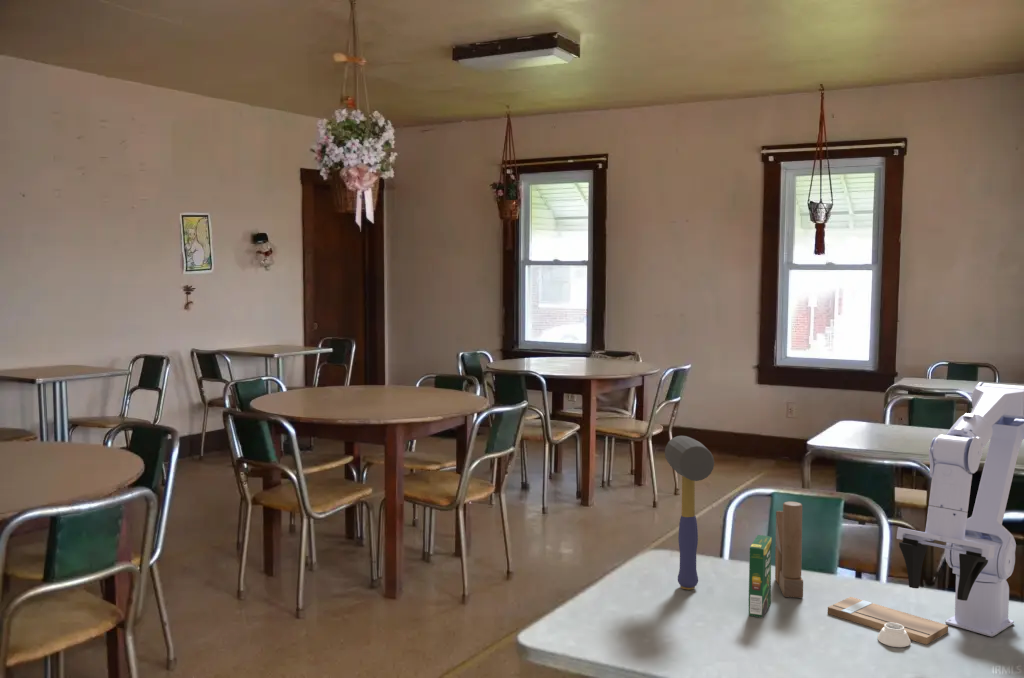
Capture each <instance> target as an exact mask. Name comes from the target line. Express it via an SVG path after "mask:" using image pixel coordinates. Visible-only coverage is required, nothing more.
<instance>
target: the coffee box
mask: <svg viewBox="0 0 1024 678" xmlns="http://www.w3.org/2000/svg"><path fill="white" fill-rule="evenodd" d="M772 541H773V540H772V536H769V535H763V534H762V535H761V534H757V535H756V536H755V538H754V540H753V541H752V543H751V545H750V546H749V558H748V559H749V564H748V571H749V573H748V616H749V617H750V616H751V617H755V618H761V619H762V618H764V616H765V615H766V613H767V610H768V609H769V607H770V605H771V603H772V595H771V593H772V585H771V584H772V544H773V543H772Z"/></svg>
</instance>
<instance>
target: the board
mask: <svg viewBox="0 0 1024 678" xmlns="http://www.w3.org/2000/svg"><path fill="white" fill-rule="evenodd" d="M827 614H829V615H832V616H835V617H838V618H840V619H844V620H847V621H850V622H854V623H857V624H859V625H862V626H865V627H869V628H873V629H875V630H879V631H881V629H882V628H883V627H884V625H885V623H898V624H901V625H902V626H904V630H905V631H906V632H907V634H908V636H909V639H910V641H915V642H917V643H920V644H923V645H928V644H930V643H932V642H933V641H936V640H937V639H939V638H940V637H942V636H944V635H946V634H947V633H949V624H946V623H941V622H938V621H935V620H932V619H931V620H930V619H928V618H926V617H925V618H924V617H921V616H917V615H915V614H911V613H908V612H904V611H900V610H898V609H894V608H890V607H888V606H884V605H880V604H877V603H873V602H870V601H868V600H864V599H859V598H856V597H853V596H849V597H847V598H845V599H842V600H840V601H838V602H836V603H834V604H831V605H829V606H827Z"/></svg>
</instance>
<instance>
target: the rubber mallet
mask: <svg viewBox="0 0 1024 678" xmlns="http://www.w3.org/2000/svg"><path fill="white" fill-rule="evenodd" d="M664 457H665V459H666V461H667V463H668V464H669V466H670V468H672V469H673V470H674V471H675V472H676V474H679V475H680V476H681V478H682V479H681V516H680V519H679V526H678V535H677V536H678V538H677V539H678V541H677V542H678V548H679V571H678V575H677V583H678V584H679V587H680V588H681V589H683V590H689V591H691V590H695V589H696V586H698V582H699V576H698V572H697V553H698V552H697V551H698V546H699V545H698V543H699V530H698V528H699V527H698V521H697V517H696V513H695V512H696V510H695V509H696V505H695V504H696V500H695V499H696V495H695V491H696V490H695V489H696V487H695V484H696V483H695V482H698V481H699V482H700V481H702V480H705V479H707V478H708V477H709V476H710V475H711V474H712V472H713V470H714V466H715V459H714V455H713V454H712V452H711V451H710V450H709V449H708V447H706V446H705V445H704V444H703V443H702V442H700V441H698V440H696V439H695V438H692V437H690V436H687V435H677V436H675V437H672V438H671V439H670V440H669V441H668V442H667V443H666V446H665V448H664Z"/></svg>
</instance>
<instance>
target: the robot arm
mask: <svg viewBox="0 0 1024 678" xmlns="http://www.w3.org/2000/svg"><path fill="white" fill-rule="evenodd" d="M971 395H972V396H971V405H972V410H971V412H970V413H969V412H968V413H967V412H965V413H964V414H963V415H961V416H960V417H958V419H957V420H956V421H955V422H954V423H953V425H952V426H951V427H950V429H948V431H947V432H946V434H942V433H941V434H939V435H937V436H935V437H933V438H932V440H931V442H930V445H929V449H928V461H929V471H928V473H929V478H931V484H930V491H929V500H928V507H927V516H926V523H925V529H924V530H925V531H920V530H914V529H910V528H904V527H900V526H898V527H897V531H896V539H897V540H902V541H900V542H899V543H898V546H899V549H900V551H901V553H902V556H903V559H904V563H905V566H906V570H907V579H908V587H909V588H912V589H919V588H920V586H921V585H920V584H921V578H922V577H921V575H922V567H923V563H924V559H925V556H926V553H927V550H928V546H931V547H938V548H942V549H944V558H945V562H946V564H947V565H948V567H949V568H950V569H952V574H955V594H954V595H955V599H954V615H953V616H951V617H949V618H947V619H946V620H945V621H944V624H945V625H948V626H952V627H955V628H956V627H957V628H960V629H963V630H967V631H969V632H970V631H971V632H972V633H973V632H974V633H976V634H977V633H978V634H981V635H984V636H986V637H987V636H988V637H994V636H996V635H998V634H1000V632H1002V631H1004V630H1006V629H1007V628H1009V627H1010V626H1012V625H1014V624H1015V621H1014V620H1013V619H1010V618H1009V609H1010V608H1009V605H1010V601H1009V600H1010V586H1009V583H1008V581H1007V579H1008V578H1009V577H1011V576H1012V574H1013V573H1014V569H1015V564H1016V548H1017V544H1016V540H1015V537H1014V535H1013V534H1012V533H1011V532H1010V531H1009V530H1008V529H1007V528H1006V527H1005V526H1004V525H1003V521H1004V516H1005V511H1006V508H1007V503H1008V501H1009V500H1008V499H1009V495H1010V490H1011V486H1012V482H1013V477H1014V473H1015V469H1016V465H1017V460H1018V456H1019V452H1020V449H1021V446H1022V444H1023V443H1022V442H1023V440H1024V385H1018V384H1004V383H991V382H984V381H979V382H978V383H977V384H976V385H975V386H974V388H973V390H972V394H971ZM988 443H989V445H988V448H987V452H986V456H985V460H984V464H983V469H982V472H981V477H980V481H979V485H978V490H977V494H976V498H975V503H974V506H973V511H972V514H971V515H970V517H968V514H969V513H968V511H969V504H970V497H971V496H970V495H971V486H972V481H973V474H975V473H976V472H978V470H979V467H980V463H981V459H982V457H983V454H984V453H983V449H984V448H985V446H986V445H987V444H988ZM934 541H939V542H942V543H943V542H944V543H946V544H940V543H936V542H934Z"/></svg>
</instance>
